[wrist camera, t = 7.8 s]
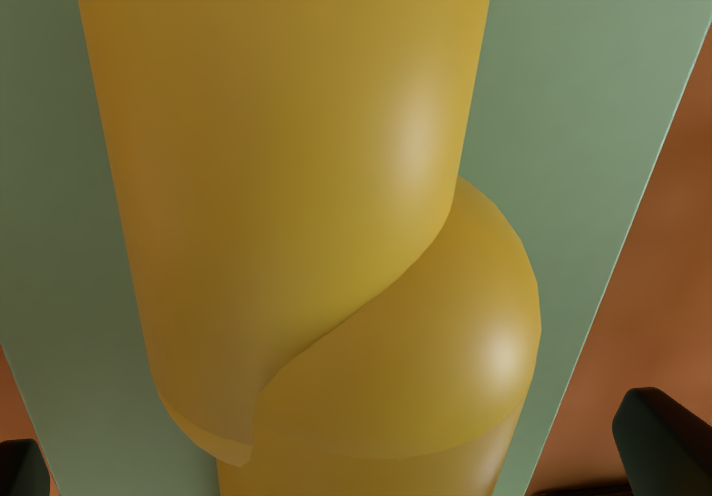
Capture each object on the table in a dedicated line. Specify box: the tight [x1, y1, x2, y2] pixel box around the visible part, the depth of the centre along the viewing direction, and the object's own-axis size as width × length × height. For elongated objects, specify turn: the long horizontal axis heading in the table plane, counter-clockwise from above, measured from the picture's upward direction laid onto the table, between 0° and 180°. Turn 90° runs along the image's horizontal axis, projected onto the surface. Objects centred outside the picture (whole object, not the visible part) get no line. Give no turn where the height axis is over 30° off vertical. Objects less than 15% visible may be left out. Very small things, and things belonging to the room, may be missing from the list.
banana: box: [78, 0, 542, 496], centre depth 8 cm, size 19×4×4 cm, turn 176°
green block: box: [0, 0, 712, 496], centre depth 12 cm, size 16×9×5 cm, turn 176°
